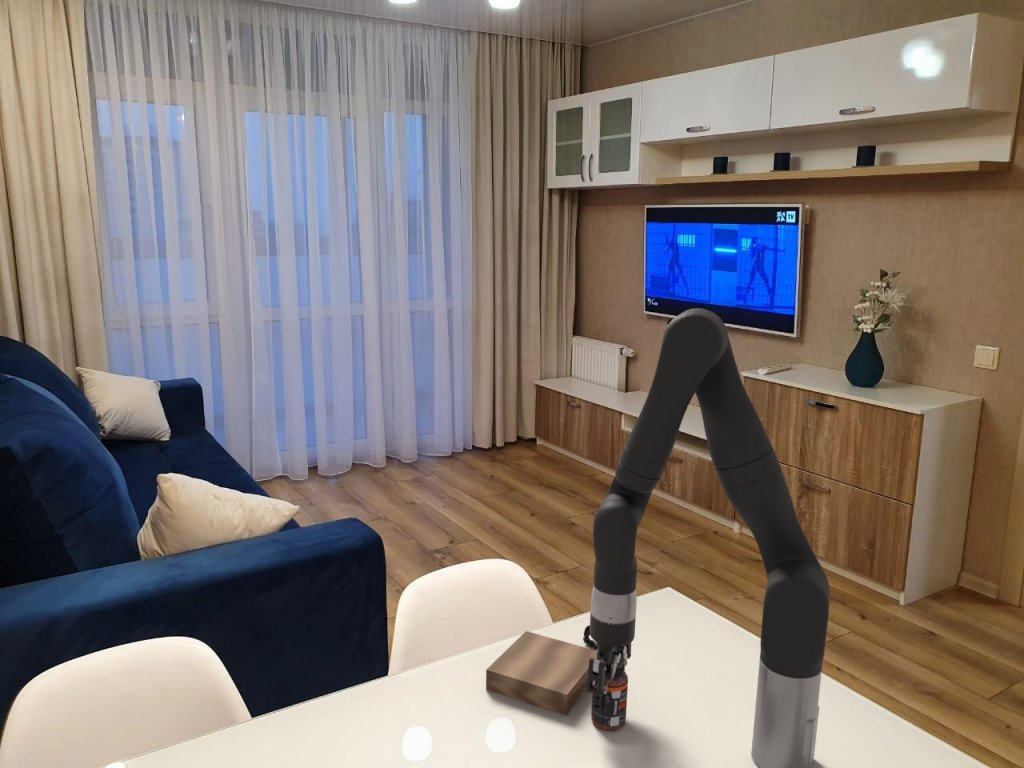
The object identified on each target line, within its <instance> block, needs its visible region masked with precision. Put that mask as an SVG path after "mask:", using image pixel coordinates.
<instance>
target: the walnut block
mask: <svg viewBox="0 0 1024 768" xmlns="http://www.w3.org/2000/svg"><path fill="white" fill-rule="evenodd" d="M595 654H596V650H594V649H591V648H589V647H584V646H581V645H577V644H575V643H571V642H567V641H563V640H560V639H556V638H552V637H549V636H547V635H546V636H545V635H542V634H538V633H535V632H530V631H527V630H525V631H524V633H522V634H521V635H520V636H519V637H518V638H517V639H516V640H515V641H514V642H513V643H512V644H511V645H510V646H509V647H508V648H507V649H506V650H505V651H504V652H503V653H502V654H501V655H499V656H498V657H497V658H496V659H495V660H494V662H493V663H491V664H490V665H489V666H488V668H486V669H485V670H486V671H485V690H487V691H490V692H492V693H496V694H499V695H502V696H505V697H508V698H511V699H514V700H517V701H520V702H524V703H527V704H530V705H532V706H537V707H539V708H542V709H545V710H549V711H552V712H555V713H558V714H561V715H564V716H567V715H568V714H569V712H570V711H572V708H574V706H575V705H576V704H577V702H578V701H579V700H580V698H581V697H582V696H583V694H584V693H585V692H587V685H588V671H589V660H590V658H591V657H592V658H595V659H596V656H595Z"/></svg>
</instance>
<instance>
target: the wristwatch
mask: <svg viewBox="0 0 1024 768" xmlns="http://www.w3.org/2000/svg"><path fill="white" fill-rule="evenodd" d="M582 640H583V643H584V644H585V645H586V646H588V648H589V649H593V650H597V648H598V647H599V645H598V644H597V643H596V642H595V641H594V640H593V639H591V636H590V624H589V625H586V627H584V632H583V638H582Z"/></svg>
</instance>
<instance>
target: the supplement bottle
mask: <svg viewBox="0 0 1024 768" xmlns="http://www.w3.org/2000/svg"><path fill="white" fill-rule="evenodd" d="M605 673H606V674H608V673H610V671H607V670H605ZM604 682H605V680H604ZM628 683H629V676H628V674H627V673H626V670H625V671H624V670H623V661H622V660H621V659H620V661H619V663H618V664H617V666H616V670H615V674H614V678H613V680H611V681H610V682H609V686H608V691H607V703H606V711H605V712H604V713H600V712H596V711H594V710H593V709H592V708H591V710H590V712H591V713H590V714H591V715H590V716H591V721H592V723H593V725H594V726H596V727H598V728H599V729H602V730H606V731H616V730H620V729H621V728H623V727H624V725H625V724H626V720H627V704H628V688H629V687H628V686H629V685H628ZM597 684H599V683H598V682H597ZM592 703H593V694H592V693H591V704H592Z"/></svg>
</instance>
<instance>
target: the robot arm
mask: <svg viewBox="0 0 1024 768" xmlns="http://www.w3.org/2000/svg"><path fill="white" fill-rule="evenodd" d="M728 332H729V331H728V329H727V327H726V325H725V323H724V321H723V320H722V319H721V317H720V316H719V315H717V314H716V313H714V311H711V310H708V309H705V308H697V307H696V308H690V309H686V310H685V311H683V312H681V313H680V314H678V315H677V316H676V317H674V318H672V319H671V320H670V322H669V323H668V324H667V325H666V328H665V329H664V332H663V335H662V343H661V347H660V352H659V356H658V360H657V365H656V369H655V373H654V376H653V379H652V383H651V386H650V388H649V390H648V393H647V397H646V399H645V401H644V403H643V406H642V408H641V411H640V413H639V414H638V417H637V419H636V421H635V424H634V425H633V428H632V430H631V432H630V433H629V436H628V439H627V441H626V443H625V445H624V448H623V450H622V452H621V455H620V457H619V459H618V462H617V465H616V468H615V475H614V476H613V479H612V481H611V483H610V485H609V488H608V490H607V491H606V494H605V496H604V497H603V500H602V501H601V504H600V505H599V507H598V509H597V510H596V513H595V515H594V517H593V518H594V519H593V525H592V527H593V528H592V539H593V541H592V542H593V552H594V557H595V560H594V566H593V567H594V568H593V585H592V586H593V587H592V591H591V598H590V614H589V615H590V617H589V618H590V619H589V625H590V636H589V637H590V639H591V640H593V641H594V642H596V643H597V644H598V645H599V647H598V648H597V650H596V654H595V656H596V659H595V658H592V657H591V658H590V660H589V671H588V685H587V689H586V692H587V693H588V694H589V693H590V694H591V695H592V694H593V703H592V702H591V709H593V710H594V711H596V712H600V713H604V712H605V711H606V703H607V691H608V686H609V682H610V681H611V680H613V678H614V674H615V670H616V666H617V664H618V663H619V661H620V659H621V660H622V661H623V670H624V671H625V672H626V667H627V665H628V660H630V659H631V657H632V642H634V639H635V633H636V619H637V618H636V617H637V606H638V605H637V602H638V601H637V600H638V597H637V578H638V561H637V557H636V541H637V534H638V528H640V524H641V521H642V520H643V516H644V514H645V512H646V509H647V507H648V504H649V502H650V499H651V496H652V493H653V490H654V489H655V488H656V486H657V485H658V484H659V481H660V480H661V479H660V478H661V477H662V474H663V473H664V470H665V468H666V466H667V464H668V462H669V459H670V456H671V453H672V451H673V450H674V447H675V444H676V440H677V438H678V434H679V430H680V428H681V424H682V422H683V419H684V417H685V414H686V411H687V409H688V408H689V405H690V403H691V401H692V399H693V397H694V395H695V396H696V398H697V401H698V405H699V408H700V411H701V418H702V422H703V428H704V432H705V438H706V443H707V447H708V451H709V455H710V458H711V461H712V464H713V468H714V469H715V472H716V474H717V477H718V479H719V482H720V483H721V486H722V489H723V491H724V493H725V495H726V497H727V499H728V501H729V502H730V503H731V505H732V507H733V509H734V510H735V512H736V513H737V514H738V516H740V518H741V520H742V521H743V522H744V524H745V525H746V526H747V528H748V529H749V530H750V532H751V534H752V536H753V538H754V539H755V542H756V545H757V548H758V550H759V554H760V557H761V559H762V562H763V563H762V564H763V566H764V570H765V573H766V580H767V581H766V587H765V593H764V598H763V607H762V619H761V629H760V630H761V631H760V632H761V633H760V652H759V653H760V654H759V663H758V672H757V673H758V676H757V688H756V696H755V697H756V699H755V709H754V718H753V719H754V720H753V729H752V740H751V758H752V760H753V762H754V763H755V764H756V766H758V767H759V768H812V767H813V763H814V759H815V751H816V741H817V732H818V731H817V730H818V723H819V713H820V706H819V699H820V691H821V690H820V689H821V683H822V681H821V680H822V671H823V663H824V658H825V651H826V641H827V633H828V623H829V616H830V615H829V614H830V613H829V612H830V590H831V589H830V583H829V580H828V577H827V574H826V572H825V571H824V569H823V567H822V565H821V563H820V562H819V559H818V558H817V556H816V554H815V552H814V550H813V548H812V547H811V545H810V543H809V541H808V539H807V536H806V535H805V533H804V531H803V528H802V527H801V525H800V521H799V519H798V516H797V513H796V509H795V505H794V502H793V499H792V496H791V493H790V490H789V487H788V484H787V482H786V479H785V476H784V472H783V470H782V467H781V465H780V462H779V460H778V459H779V458H778V457H777V455H776V452H775V449H774V447H773V445H772V443H771V441H770V440H771V439H770V438H769V436H768V434H767V432H766V431H767V430H766V429H765V427H764V425H763V423H762V421H761V419H760V417H759V414H758V412H757V410H756V408H755V407H754V404H753V402H752V401H751V398H750V397H749V395H748V393H747V391H746V388H745V387H744V384H743V381H742V378H741V375H740V373H739V369H738V366H737V363H736V359H735V356H734V352H733V348H732V345H731V341H730V337H729V333H728ZM605 670H607V671H610V673H608V674H606V673H605ZM604 680H605V682H604ZM597 682H598V683H599V684H597Z"/></svg>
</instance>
